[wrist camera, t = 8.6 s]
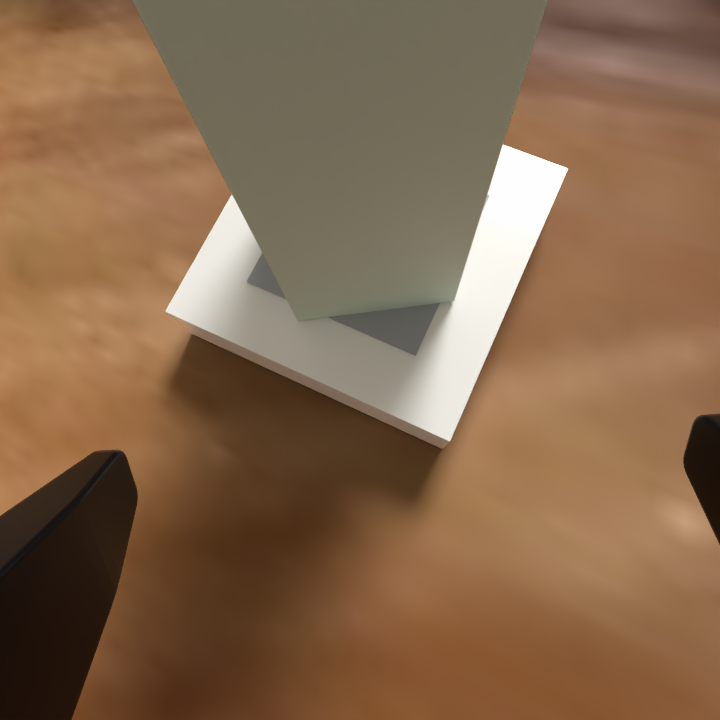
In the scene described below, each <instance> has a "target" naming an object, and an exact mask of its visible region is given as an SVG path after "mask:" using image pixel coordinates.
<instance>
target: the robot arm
mask: <svg viewBox="0 0 720 720" xmlns="http://www.w3.org/2000/svg"><path fill="white" fill-rule="evenodd" d="M683 463H684V468H685V472H686V474H687V476H688V478H689V481H690V483H691V485H692V487H693V489H694V491H695V493H696V495H697V498H698V500H699V502H700V504H701V506H702V508H703V510H704V512H705V515H706V517H707V519H708V521H709V523H710V525H711V527H712V529H713V532H714V534H715V536H716V538H717V540H718V542H719V544H720V414H708V415H700V416H698V417H697V418H696V419H695V420H694V422H693V425H692V428H691V432H690V435H689V439H688V442H687V446H686V450H685V453H684V459H683ZM137 499H138V495H137V488H136V485H135V482H134V479H133V476H132V473H131V470H130V466H129V463H128V460H127V457H126V455H125V454H124V452H122V451H121V450H102V451H95V452H93V453H91V454H90V455H88V456H87V457H86V458H84V459H83V460H81V461H80V462H78V463H77V464H75V465H74V466H72V467H71V468H70V469H68V470H67V471H65V472H64V473H62V474H61V475H59V476H58V477H56V478H55V479H53V480H52V481H51V482H49V483H48V484H46V485H45V486H43V487H42V488H40V489H39V490H37V491H36V492H34V493H33V494H32V495H30V496H29V497H27V498H26V499H24V500H23V501H21V502H20V503H18V504H17V505H15V506H14V507H13V508H11V509H10V510H8V511H7V512H5V513H4V514H2V515H1V516H0V720H72V717H73V714H74V711H75V708H76V706H77V703H78V700H79V697H80V694H81V691H82V689H83V686H84V683H85V680H86V677H87V674H88V672H89V669H90V666H91V663H92V660H93V657H94V655H95V652H96V649H97V646H98V643H99V641H100V638H101V635H102V632H103V629H104V626H105V624H106V621H107V618H108V615H109V612H110V609H111V607H112V603H113V600H114V597H115V594H116V591H117V587H118V583H119V579H120V575H121V571H122V567H123V562H124V558H125V554H126V550H127V545H128V541H129V537H130V532H131V528H132V524H133V519H134V515H135V511H136V506H137Z"/></svg>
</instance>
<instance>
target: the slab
mask: <svg viewBox="0 0 720 720" xmlns="http://www.w3.org/2000/svg"><path fill="white" fill-rule="evenodd" d="M567 170H568V168H565V167H562V166H560V165H557V164H554V163H551V162H549V161H546V160H543V159H541V158H538V157H535V156H532V155H530V154H527V153H524V152H521V151H519V150H516V149H513V148H511V147H508V146H505V145H503V146H502V149H501V152H500V156H499V159H498V162H497V165H496V168H495V172H494V175H493V178H492V181H491V185H490V188H489V191H488V194H487V197H486V201H485V204H484V207H483V210H482V213H481V217H480V220H479V223H478V226H477V229H476V233H475V236H474V239H473V242H472V246H471V249H470V252H469V255H468V258H467V262H466V265H465V268H464V271H463V274H462V278H461V281H460V284H459V287H458V290H457V294H456V297H455V300H454V301H451V302H444V303H436V304H428V305H420V306H412V307H404V308H397V309H389V310H381V311H373V312H365V313H357V314H349V315H342V316H334V317H326V318H318V319H310V320H302V321H297V319H296V317H295V315H294V313H293V311H292V309H291V307H290V305H289V303H288V301H287V300H286V298H285V296H284V294H283V292H282V290H281V288H280V286H279V284H278V282H277V280H276V278H275V276H274V274H273V272H272V271H271V269H270V267H269V265H268V263H267V261H266V259H265V257H264V255H263V253H262V251H261V249H260V247H259V245H258V243H257V242H256V240H255V238H254V236H253V234H252V232H251V230H250V228H249V226H248V224H247V222H246V220H245V218H244V216H243V214H242V213H241V211H240V209H239V207H238V205H237V203H236V201H235V199H234V197H233V195H231V197H230V199H229V200H228V202H227V204H226V206H225V207H224V209H223V211H222V213H221V214H220V216H219V218H218V220H217V221H216V223H215V225H214V227H213V228H212V230H211V232H210V234H209V235H208V237H207V239H206V241H205V243H204V244H203V246H202V248H201V250H200V251H199V253H198V255H197V257H196V258H195V260H194V262H193V264H192V265H191V267H190V269H189V271H188V272H187V274H186V276H185V278H184V279H183V281H182V283H181V285H180V286H179V288H178V290H177V292H176V293H175V295H174V297H173V299H172V301H171V302H170V304H169V306H168V308H167V309H166V311H165V312H166V313H167V314H169V315H170V316H171V317H172V318H173V319H175V320H176V321H177V322H178V323H179V324H181V325H182V326H183V327H184V328H185V329H186V330H188V331H189V332H190V333H191V334H193V335H195V336H198V337H200V338H202V339H204V340H206V341H208V342H211V343H213V344H215V345H217V346H219V347H222V348H224V349H226V350H228V351H230V352H232V353H235V354H237V355H239V356H241V357H243V358H245V359H248V360H250V361H252V362H254V363H256V364H259V365H261V366H263V367H265V368H267V369H269V370H272V371H274V372H276V373H278V374H280V375H282V376H285V377H287V378H289V379H291V380H293V381H296V382H298V383H300V384H302V385H304V386H306V387H309V388H311V389H313V390H315V391H317V392H319V393H322V394H324V395H326V396H328V397H330V398H332V399H335V400H337V401H339V402H341V403H343V404H346V405H348V406H350V407H352V408H354V409H356V410H359V411H361V412H363V413H365V414H367V415H369V416H372V417H374V418H376V419H378V420H380V421H383V422H385V423H387V424H389V425H391V426H393V427H396V428H398V429H400V430H402V431H404V432H406V433H409V434H411V435H413V436H415V437H417V438H420V439H422V440H424V441H426V442H428V443H430V444H433V445H435V446H437V447H439V448H441V449H443V448H444V447H445V446H446V445H447V444H448V443H449V442H450V440H451V438H452V436H453V433H454V431H455V429H456V426H457V424H458V422H459V419H460V417H461V415H462V412H463V410H464V408H465V406H466V403H467V401H468V399H469V396H470V394H471V392H472V389H473V387H474V385H475V382H476V380H477V378H478V375H479V373H480V371H481V369H482V366H483V364H484V362H485V359H486V357H487V355H488V352H489V350H490V348H491V345H492V343H493V341H494V339H495V336H496V334H497V332H498V329H499V327H500V325H501V322H502V320H503V318H504V315H505V313H506V311H507V308H508V306H509V304H510V302H511V299H512V297H513V295H514V292H515V290H516V288H517V285H518V283H519V281H520V278H521V276H522V274H523V272H524V269H525V267H526V265H527V262H528V260H529V258H530V255H531V253H532V251H533V248H534V246H535V244H536V241H537V239H538V237H539V235H540V232H541V230H542V228H543V225H544V223H545V221H546V218H547V216H548V214H549V211H550V209H551V207H552V205H553V202H554V200H555V198H556V195H557V193H558V191H559V188H560V186H561V184H562V181H563V179H564V177H565V174H566V172H567Z"/></svg>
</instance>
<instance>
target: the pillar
mask: <svg viewBox="0 0 720 720" xmlns="http://www.w3.org/2000/svg"><path fill="white" fill-rule="evenodd" d="M132 2H133V4H134V6H135V8H136V9H137V11H138V13H139V15H140V17H141V19H142V21H143V23H144V25H145V27H146V29H147V31H148V33H149V35H150V37H151V38H152V40H153V42H154V44H155V46H156V48H157V50H158V52H159V54H160V56H161V58H162V60H163V62H164V64H165V66H166V67H167V69H168V71H169V73H170V75H171V77H172V79H173V81H174V83H175V85H176V87H177V89H178V91H179V93H180V95H181V96H182V98H183V100H184V102H185V104H186V106H187V108H188V110H189V112H190V114H191V116H192V118H193V120H194V122H195V124H196V125H197V127H198V129H199V131H200V133H201V135H202V137H203V139H204V141H205V143H206V145H207V147H208V149H209V151H210V153H211V154H212V156H213V158H214V160H215V162H216V164H217V166H218V168H219V170H220V172H221V174H222V176H223V178H224V180H225V182H226V183H227V185H228V187H229V189H230V191H231V193H232V195H233V197H234V199H235V201H236V203H237V205H238V207H239V209H240V211H241V213H242V214H243V216H244V218H245V220H246V222H247V224H248V226H249V228H250V230H251V232H252V234H253V236H254V238H255V240H256V242H257V243H258V245H259V247H260V249H261V251H262V253H263V255H264V257H265V259H266V261H267V263H268V265H269V267H270V269H271V271H272V272H273V274H274V276H275V278H276V280H277V282H278V284H279V286H280V288H281V290H282V292H283V294H284V296H285V298H286V300H287V301H288V303H289V305H290V307H291V309H292V311H293V313H294V315H295V317H296V319H297V321H302V320H310V319H318V318H326V317H334V316H342V315H349V314H357V313H365V312H373V311H381V310H389V309H397V308H404V307H412V306H420V305H428V304H436V303H444V302H451V301H454V300H455V297H456V294H457V290H458V287H459V284H460V281H461V278H462V274H463V271H464V268H465V265H466V262H467V258H468V255H469V252H470V249H471V246H472V242H473V239H474V236H475V233H476V229H477V226H478V223H479V220H480V217H481V213H482V210H483V207H484V204H485V201H486V197H487V194H488V191H489V188H490V185H491V181H492V178H493V175H494V172H495V168H496V165H497V162H498V159H499V156H500V152H501V149H502V146H503V143H504V140H505V136H506V133H507V130H508V127H509V124H510V120H511V117H512V114H513V111H514V107H515V104H516V101H517V98H518V95H519V91H520V88H521V85H522V82H523V79H524V75H525V72H526V69H527V66H528V63H529V59H530V56H531V53H532V50H533V46H534V43H535V40H536V37H537V34H538V30H539V27H540V24H541V21H542V18H543V14H544V11H545V8H546V5H547V2H548V0H132Z"/></svg>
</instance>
